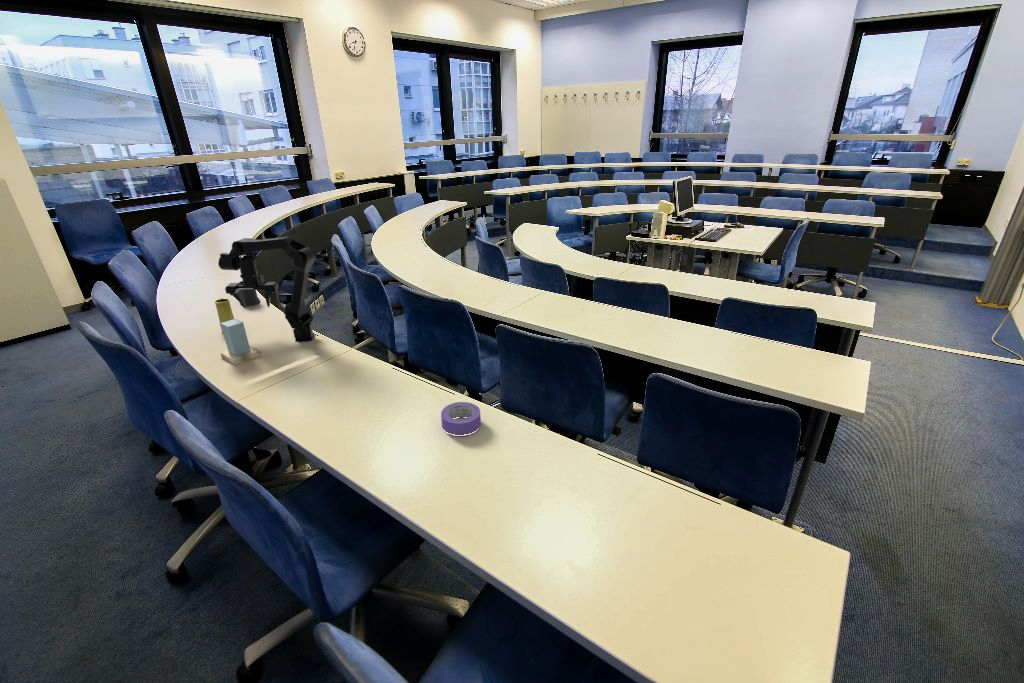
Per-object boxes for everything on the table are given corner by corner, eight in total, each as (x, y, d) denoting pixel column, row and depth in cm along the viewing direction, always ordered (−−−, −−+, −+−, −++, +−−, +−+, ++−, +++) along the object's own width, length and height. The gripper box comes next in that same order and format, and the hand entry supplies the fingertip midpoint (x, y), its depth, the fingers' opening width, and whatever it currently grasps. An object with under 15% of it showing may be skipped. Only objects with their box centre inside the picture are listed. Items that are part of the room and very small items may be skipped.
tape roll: (434, 425, 142) (433, 411, 140) (463, 410, 150) (463, 397, 147) (458, 442, 134) (457, 428, 132) (488, 426, 142) (488, 412, 140)
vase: (234, 327, 207) (226, 296, 201) (240, 330, 204) (232, 300, 198) (219, 331, 203) (210, 300, 197) (225, 335, 200) (216, 303, 194)
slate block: (243, 347, 182) (235, 318, 177) (250, 350, 179) (243, 322, 174) (228, 352, 178) (220, 323, 172) (236, 356, 175) (227, 326, 170)
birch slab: (247, 348, 185) (246, 343, 185) (261, 355, 180) (260, 350, 179) (221, 357, 178) (220, 352, 177) (234, 364, 173) (233, 360, 172)
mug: (262, 304, 234) (257, 282, 229) (241, 307, 229) (236, 285, 225) (257, 297, 243) (252, 276, 238) (237, 300, 238) (232, 279, 233)
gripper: (279, 264, 196) (286, 299, 203) (231, 266, 193) (240, 301, 200) (270, 272, 186) (278, 308, 193) (220, 273, 183) (230, 310, 190)
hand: (257, 307), depth 194 cm, fingers open, 9 cm apart
